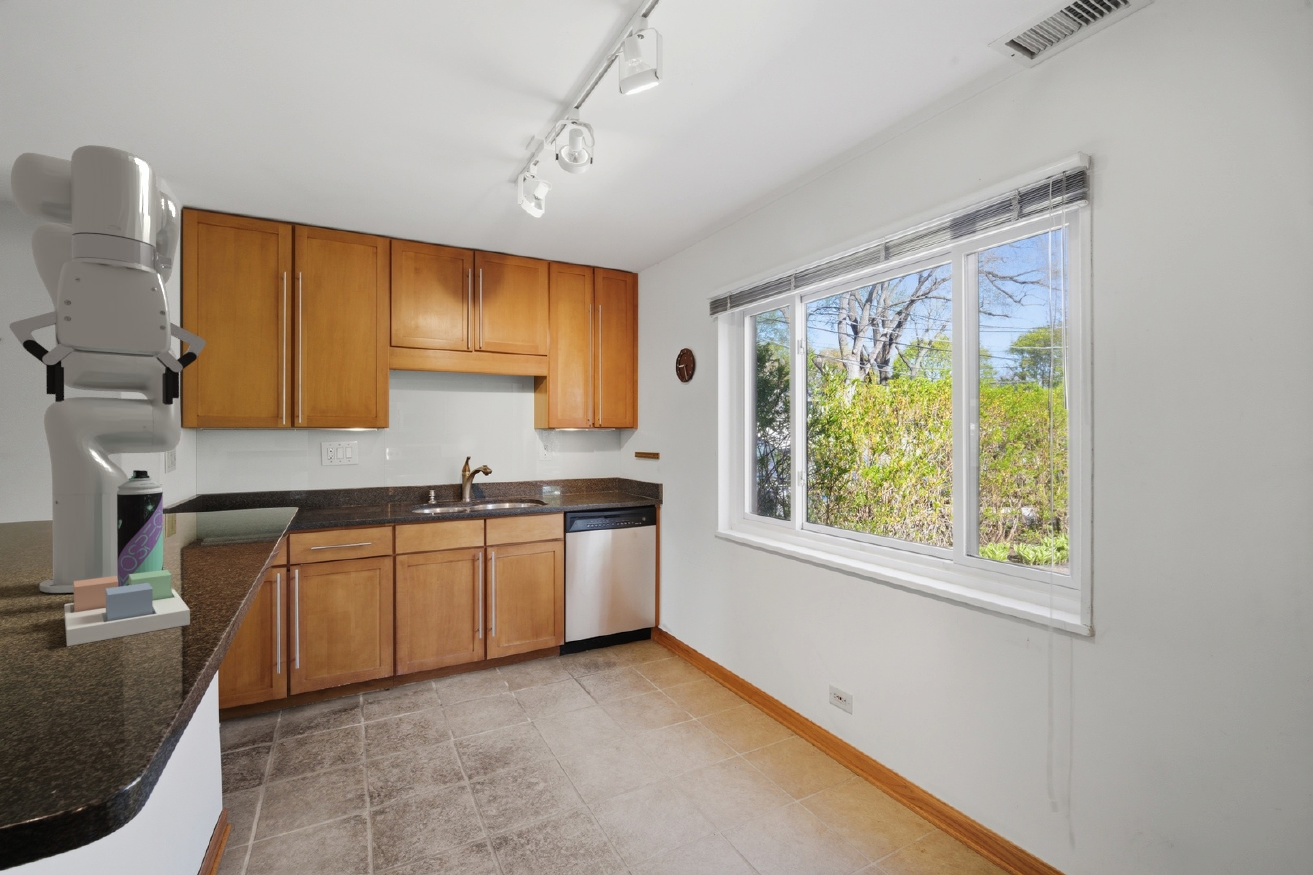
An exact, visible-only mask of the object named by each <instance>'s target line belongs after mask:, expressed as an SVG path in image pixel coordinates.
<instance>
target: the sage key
mask: <svg viewBox="0 0 1313 875" xmlns="http://www.w3.org/2000/svg"><path fill="white" fill-rule="evenodd" d="M143 583H149V584H150V586H151V587H152V601H154V600H161V599H167V598H172V589H173V588H172V586H173V585H172V584H173V583H172V573H171V572H170V571H169V570H168V569H163V570H160V571H152V572H144V573H136V574H129V585H136V584H143Z"/></svg>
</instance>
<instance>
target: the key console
mask: <svg viewBox="0 0 1313 875" xmlns="http://www.w3.org/2000/svg"><path fill="white" fill-rule="evenodd" d="M152 602H153V614H151V615H145V616H139V617H133V618H127V619H121V620H115V621H107V617H106V608H101V609H95V610H88V611H81V612H74V602H71V603H65V604H64V625H65V626H64V629H65V638H66V640H65V641H66V647H71V646H77V645H81V644H88V643H92V642H93V643H94V642H99V641H104V640H105V641H106V640H110V639H115V638H117V639H118V638H121V637H128V636H132V635H139V634H143V633H145V634H146V633H149V632H156V631H160V630H166V629H167V630H168V629H172V628H178V627H183V626H189V625H190V624H191V609H190V608H189V606H188V605H187V604H186V602H185V601H184V600H183V599H182V597H181V596H180V595H179V594H178V592H177V590H175V588H172V598H167V599H161V600H154V601H152Z"/></svg>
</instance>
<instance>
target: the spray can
mask: <svg viewBox="0 0 1313 875" xmlns="http://www.w3.org/2000/svg"><path fill="white" fill-rule="evenodd" d="M148 472H149V471H148V470H139V469H138V470H137V469H135V470H133V471H132V475H131V477H130V478H129V477H128V480H129V481H128V482H126V483H124V484H122V485H121V486H118V489H119V490H118V491H117V580H118V587H121V586H128V585H129V574H136V573H144V572H152V571H160V570H164V538H163V537H164V512H163V511H164V509H163V508H164V505H163V504H164V503H163V502H164V496H163V494H164V492H163V488H162V487H163V485H162V484H160V483H158V482H157V481H155V480H152V479H153V478H152V477H150V475H148Z"/></svg>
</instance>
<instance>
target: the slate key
mask: <svg viewBox="0 0 1313 875" xmlns="http://www.w3.org/2000/svg"><path fill="white" fill-rule="evenodd" d="M151 614H153V602H152V587H151V586H150V584H149V583H143V584H136V585H128V586H121V587H113V588H106V617H107V621H115V620H121V619H127V618H133V617H139V616H145V615H151Z"/></svg>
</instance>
